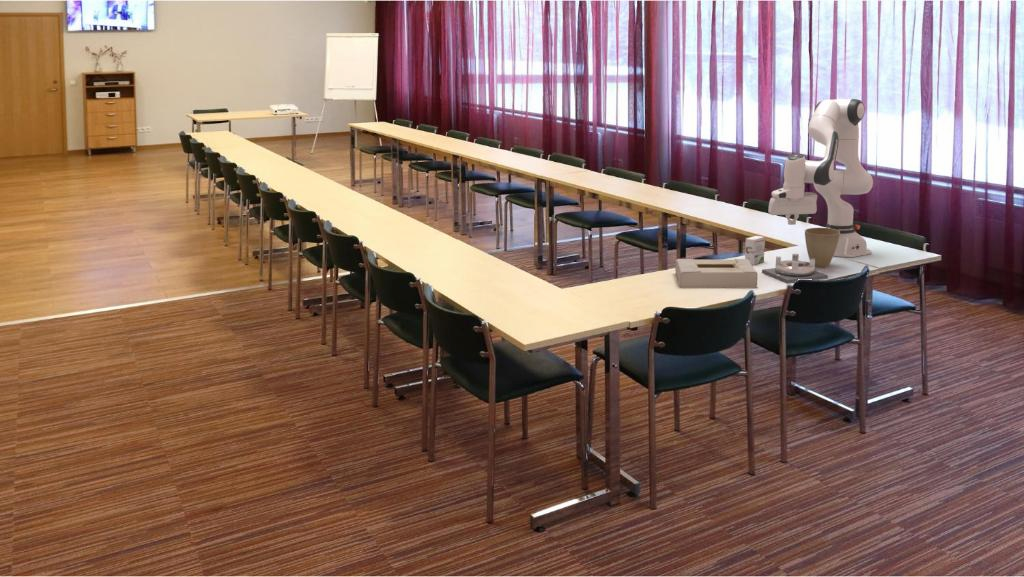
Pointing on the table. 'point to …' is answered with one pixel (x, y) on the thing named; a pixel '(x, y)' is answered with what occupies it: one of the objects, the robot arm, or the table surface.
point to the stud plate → (792, 279)
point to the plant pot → (821, 245)
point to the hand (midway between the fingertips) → (791, 224)
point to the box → (715, 273)
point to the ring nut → (795, 266)
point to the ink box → (755, 249)
